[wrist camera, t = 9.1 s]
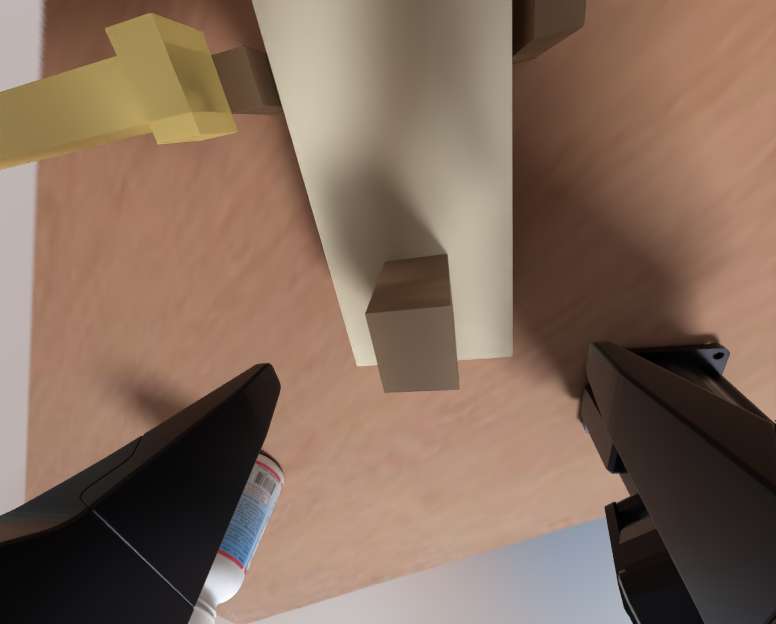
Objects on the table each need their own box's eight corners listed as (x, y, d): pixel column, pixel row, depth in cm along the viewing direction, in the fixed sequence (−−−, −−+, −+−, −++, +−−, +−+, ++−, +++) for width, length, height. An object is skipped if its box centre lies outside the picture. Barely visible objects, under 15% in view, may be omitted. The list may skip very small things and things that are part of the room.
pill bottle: (211, 445, 29) (99, 606, 19) (275, 448, 28) (190, 620, 18) (234, 487, 32) (147, 645, 22) (293, 491, 31) (228, 658, 21)
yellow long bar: (202, 31, 10) (151, 12, 8) (238, 132, 11) (200, 134, 9) (-80, 119, 12) (-166, 119, 10) (-25, 192, 13) (-94, 203, 12)
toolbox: (536, -56, 11) (599, -171, 7) (528, 298, 18) (557, 358, 14) (266, 25, 14) (180, -23, 9) (348, 315, 20) (321, 372, 16)
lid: (504, -107, 8) (572, -342, 4) (508, 343, 15) (536, 432, 11) (258, -24, 10) (118, -134, 6) (361, 353, 16) (334, 435, 12)
